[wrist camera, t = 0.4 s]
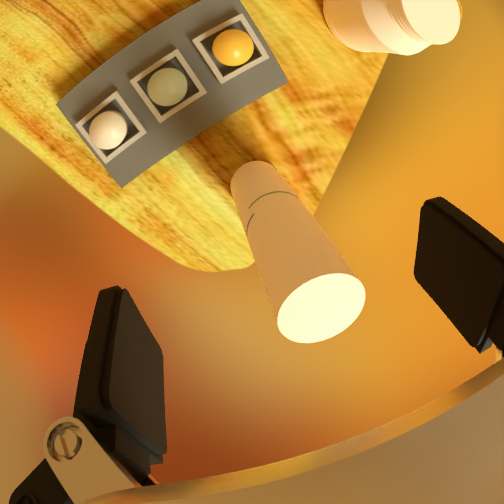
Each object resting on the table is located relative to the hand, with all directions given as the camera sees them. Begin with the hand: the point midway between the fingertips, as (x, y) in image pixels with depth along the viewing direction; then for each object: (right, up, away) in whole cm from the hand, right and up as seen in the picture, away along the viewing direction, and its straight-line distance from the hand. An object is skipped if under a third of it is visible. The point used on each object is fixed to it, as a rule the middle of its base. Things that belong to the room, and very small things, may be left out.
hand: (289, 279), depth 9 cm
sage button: (-10, +19, +21) cm, 30 cm away
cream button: (-17, +15, +22) cm, 32 cm away
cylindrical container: (-1, +10, +35) cm, 36 cm away
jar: (+14, +33, +23) cm, 42 cm away
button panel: (-11, +21, +25) cm, 34 cm away
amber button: (-3, +23, +20) cm, 31 cm away
